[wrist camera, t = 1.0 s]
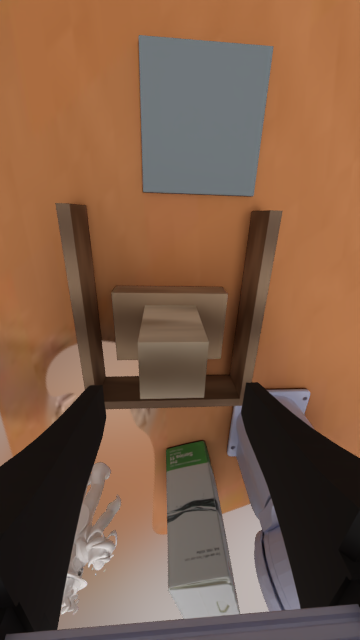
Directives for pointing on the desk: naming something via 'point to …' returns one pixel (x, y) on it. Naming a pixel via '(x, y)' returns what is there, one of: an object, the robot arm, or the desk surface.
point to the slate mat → (201, 115)
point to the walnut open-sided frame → (206, 300)
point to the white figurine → (90, 537)
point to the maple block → (172, 353)
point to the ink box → (197, 537)
